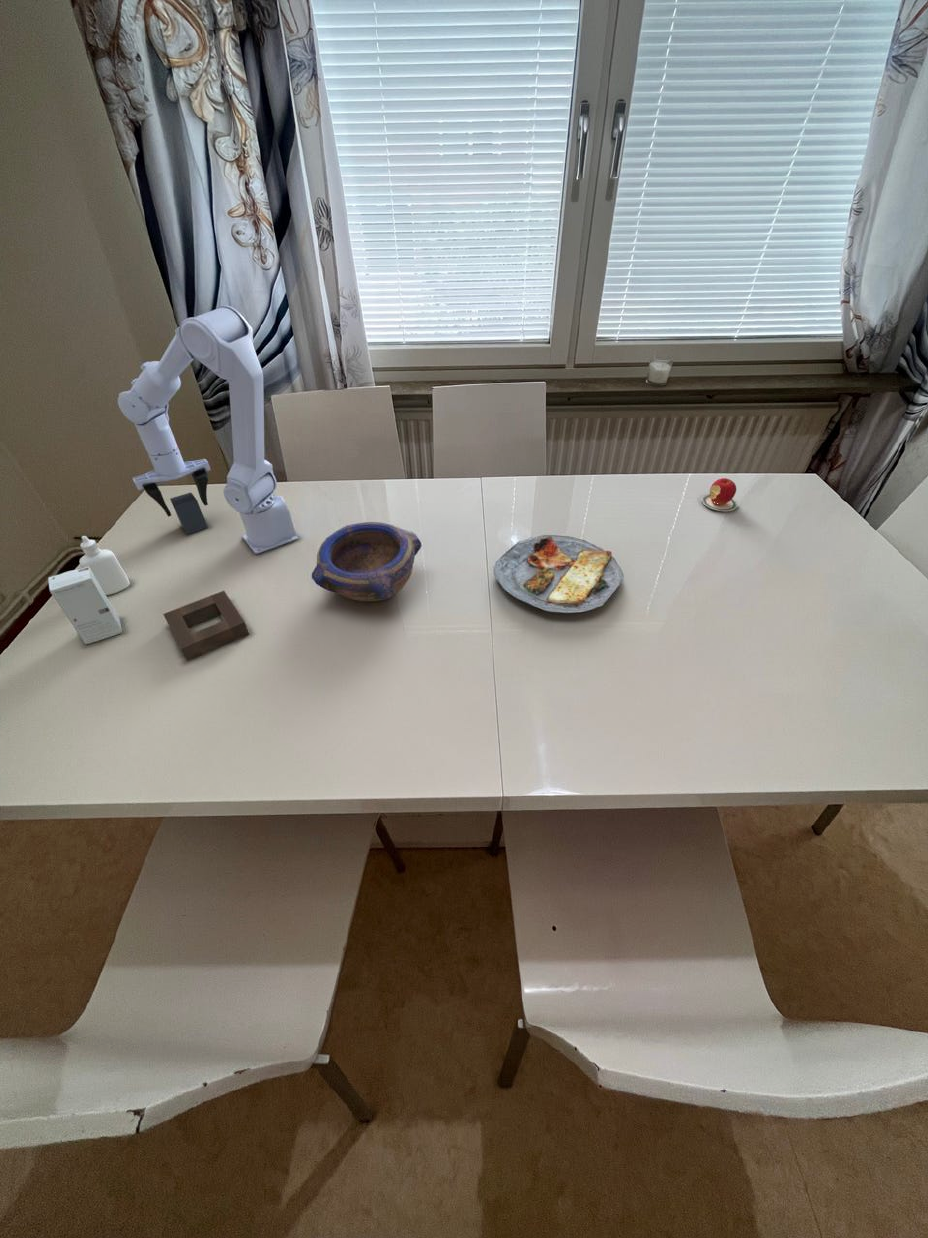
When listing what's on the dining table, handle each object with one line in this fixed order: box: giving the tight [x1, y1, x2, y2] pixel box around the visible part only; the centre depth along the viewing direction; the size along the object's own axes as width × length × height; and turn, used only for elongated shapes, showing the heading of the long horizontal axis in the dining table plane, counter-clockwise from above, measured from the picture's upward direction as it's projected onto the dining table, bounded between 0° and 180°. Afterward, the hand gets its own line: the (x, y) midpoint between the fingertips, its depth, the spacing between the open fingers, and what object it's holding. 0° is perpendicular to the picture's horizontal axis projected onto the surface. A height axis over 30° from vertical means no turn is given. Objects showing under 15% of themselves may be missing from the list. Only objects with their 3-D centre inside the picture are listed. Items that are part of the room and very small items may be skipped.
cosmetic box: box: [47, 567, 123, 645], centre depth 87 cm, size 6×4×12 cm
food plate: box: [492, 534, 624, 614], centre depth 101 cm, size 25×23×4 cm
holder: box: [162, 590, 250, 662], centre depth 91 cm, size 11×11×3 cm
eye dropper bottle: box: [79, 535, 131, 596], centre depth 96 cm, size 4×6×12 cm
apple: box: [701, 477, 738, 512], centre depth 121 cm, size 8×8×6 cm
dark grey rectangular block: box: [169, 492, 209, 535], centre depth 114 cm, size 4×4×7 cm
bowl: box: [311, 521, 422, 602], centre depth 97 cm, size 18×18×10 cm
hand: (187, 508), depth 113 cm, fingers open, 7 cm apart
